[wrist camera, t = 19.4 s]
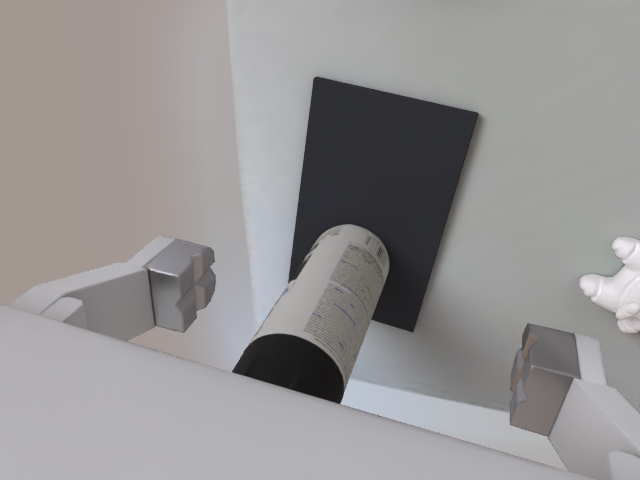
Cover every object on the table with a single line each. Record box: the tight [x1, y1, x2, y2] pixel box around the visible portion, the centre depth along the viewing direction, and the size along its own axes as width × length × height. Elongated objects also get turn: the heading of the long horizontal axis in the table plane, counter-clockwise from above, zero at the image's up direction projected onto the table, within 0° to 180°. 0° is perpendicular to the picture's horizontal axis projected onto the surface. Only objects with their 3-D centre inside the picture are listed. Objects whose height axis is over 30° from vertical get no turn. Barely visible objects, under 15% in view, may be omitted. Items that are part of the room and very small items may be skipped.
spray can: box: [232, 224, 389, 404], centre depth 37 cm, size 7×7×20 cm
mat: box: [288, 77, 478, 332], centre depth 43 cm, size 20×12×1 cm, turn 172°
